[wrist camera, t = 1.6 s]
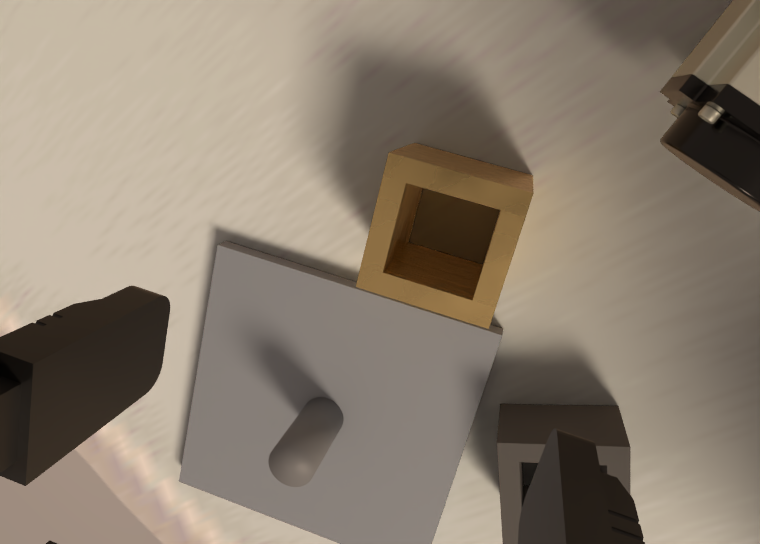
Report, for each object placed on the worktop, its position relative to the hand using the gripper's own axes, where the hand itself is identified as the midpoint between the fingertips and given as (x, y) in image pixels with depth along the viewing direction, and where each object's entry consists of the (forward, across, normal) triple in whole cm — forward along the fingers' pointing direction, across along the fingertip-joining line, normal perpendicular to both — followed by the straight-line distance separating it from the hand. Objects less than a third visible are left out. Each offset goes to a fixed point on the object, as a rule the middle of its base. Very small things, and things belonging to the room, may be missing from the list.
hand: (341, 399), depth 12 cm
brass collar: (+20, 0, 0) cm, 20 cm away
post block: (+20, +4, +13) cm, 24 cm away
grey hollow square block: (+20, -9, +11) cm, 25 cm away
